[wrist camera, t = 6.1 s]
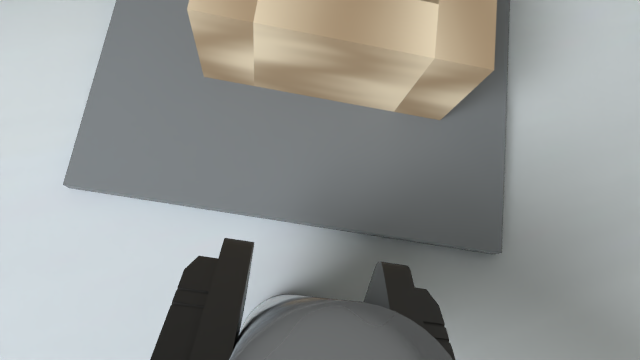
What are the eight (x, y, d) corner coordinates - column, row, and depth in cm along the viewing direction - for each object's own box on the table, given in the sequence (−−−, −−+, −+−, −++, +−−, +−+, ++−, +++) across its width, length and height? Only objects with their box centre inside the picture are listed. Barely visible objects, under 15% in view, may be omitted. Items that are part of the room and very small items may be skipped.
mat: (69, 187, 15) (62, 184, 15) (173, -176, 19) (171, -189, 19) (494, 254, 16) (501, 253, 16) (507, -98, 21) (512, -107, 20)
